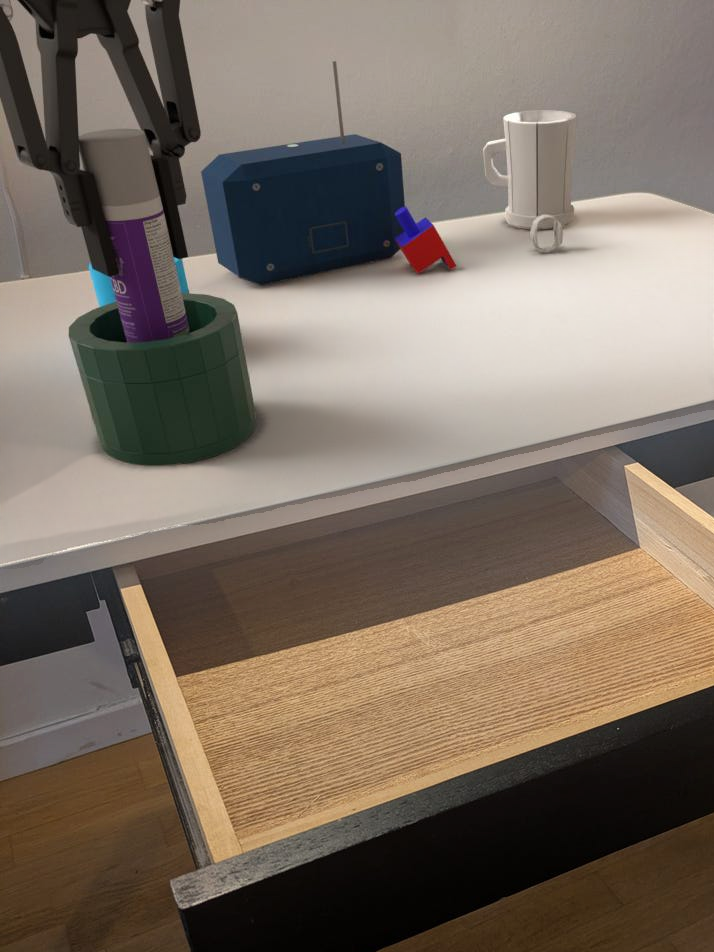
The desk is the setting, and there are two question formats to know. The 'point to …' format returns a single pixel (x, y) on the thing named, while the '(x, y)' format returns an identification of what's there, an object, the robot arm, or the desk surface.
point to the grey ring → (557, 233)
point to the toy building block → (421, 242)
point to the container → (136, 234)
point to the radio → (305, 206)
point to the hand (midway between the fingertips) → (140, 262)
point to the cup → (535, 166)
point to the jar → (166, 385)
